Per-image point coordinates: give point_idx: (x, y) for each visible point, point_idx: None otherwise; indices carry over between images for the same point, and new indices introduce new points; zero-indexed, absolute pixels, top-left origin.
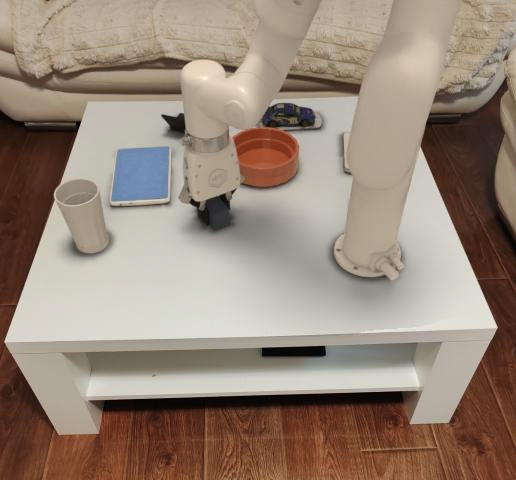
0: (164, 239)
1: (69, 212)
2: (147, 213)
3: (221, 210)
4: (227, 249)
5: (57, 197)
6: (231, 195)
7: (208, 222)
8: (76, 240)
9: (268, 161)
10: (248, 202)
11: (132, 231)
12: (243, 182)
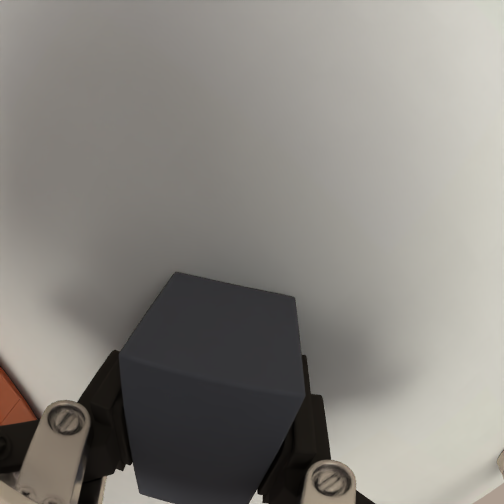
0: (479, 381)
1: None
2: (388, 485)
3: (195, 387)
4: (357, 88)
5: None
6: (42, 425)
7: None
8: None
9: None
10: (28, 323)
11: (476, 445)
12: (18, 400)
